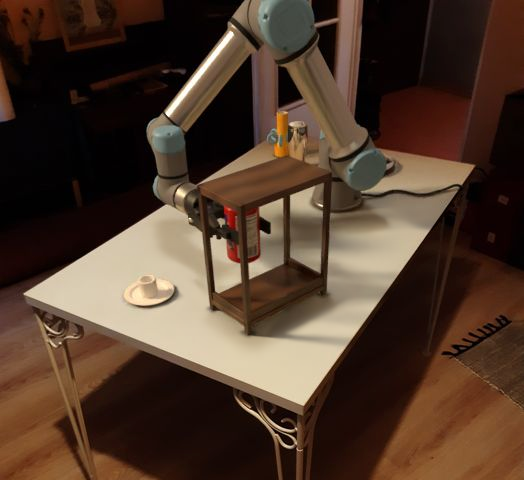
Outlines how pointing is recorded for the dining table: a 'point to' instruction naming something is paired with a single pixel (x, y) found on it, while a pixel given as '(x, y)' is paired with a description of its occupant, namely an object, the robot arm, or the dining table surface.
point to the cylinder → (280, 135)
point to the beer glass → (297, 139)
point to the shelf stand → (291, 272)
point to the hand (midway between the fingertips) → (255, 234)
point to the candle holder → (149, 291)
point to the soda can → (252, 234)
